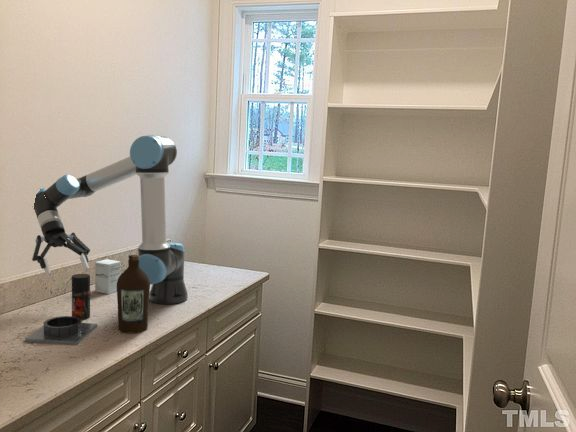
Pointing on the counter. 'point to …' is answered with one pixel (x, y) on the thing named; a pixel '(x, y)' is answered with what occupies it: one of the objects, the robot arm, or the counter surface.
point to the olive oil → (133, 298)
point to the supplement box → (106, 276)
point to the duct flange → (62, 331)
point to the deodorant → (81, 296)
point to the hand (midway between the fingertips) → (68, 272)
